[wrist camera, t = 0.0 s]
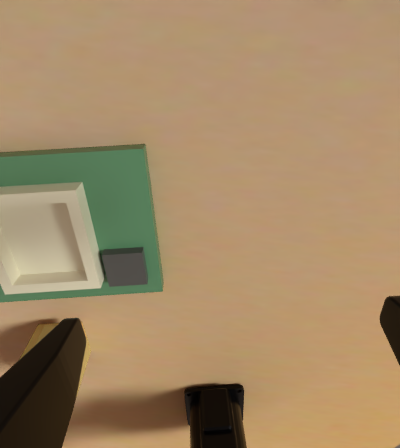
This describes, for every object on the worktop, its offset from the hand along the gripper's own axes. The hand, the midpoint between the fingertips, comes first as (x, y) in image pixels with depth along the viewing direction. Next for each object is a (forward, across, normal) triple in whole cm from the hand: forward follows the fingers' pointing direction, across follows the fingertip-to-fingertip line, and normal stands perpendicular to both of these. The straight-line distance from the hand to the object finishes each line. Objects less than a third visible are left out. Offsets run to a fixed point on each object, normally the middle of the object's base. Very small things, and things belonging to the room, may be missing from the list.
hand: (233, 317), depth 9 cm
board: (+15, +12, +4) cm, 19 cm away
